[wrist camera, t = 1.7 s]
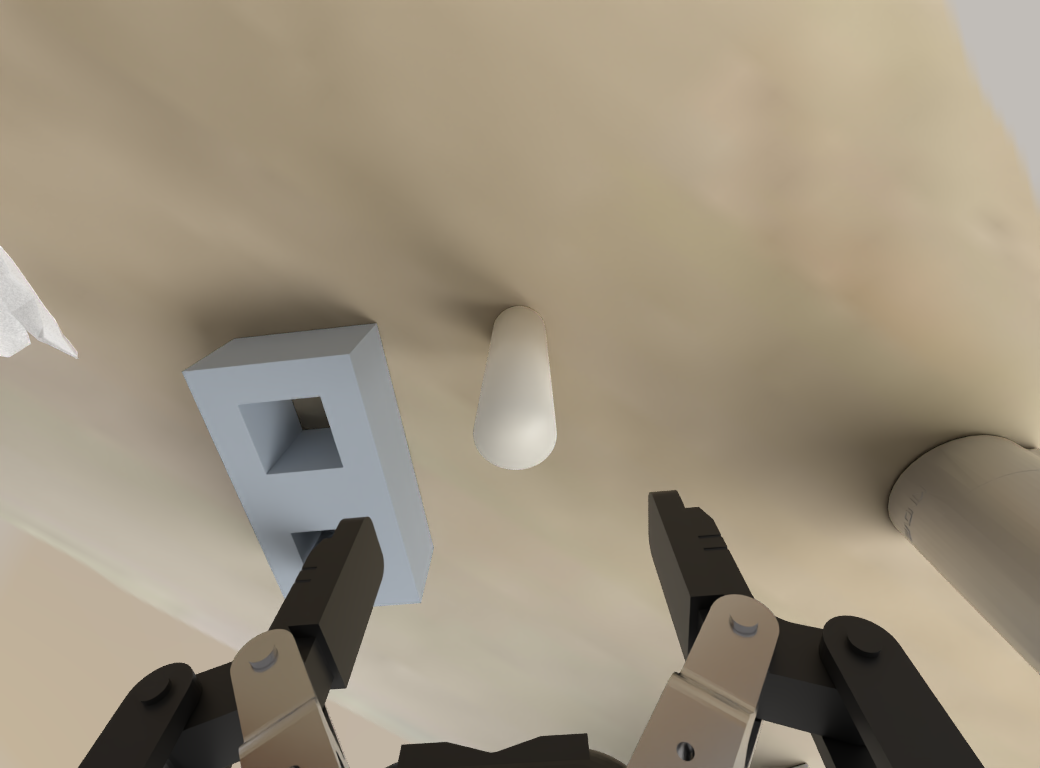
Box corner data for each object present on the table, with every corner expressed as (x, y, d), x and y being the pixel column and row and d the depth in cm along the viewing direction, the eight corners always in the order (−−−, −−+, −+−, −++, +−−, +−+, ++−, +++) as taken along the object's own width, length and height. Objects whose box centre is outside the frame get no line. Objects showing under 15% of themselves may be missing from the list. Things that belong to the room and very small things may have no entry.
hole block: (376, 323, 29) (349, 354, 25) (433, 548, 37) (420, 603, 32) (234, 338, 30) (181, 371, 25) (319, 557, 38) (290, 612, 33)
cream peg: (543, 303, 29) (552, 394, 18) (548, 353, 30) (559, 466, 19) (489, 308, 29) (466, 402, 18) (496, 358, 30) (479, 473, 19)
